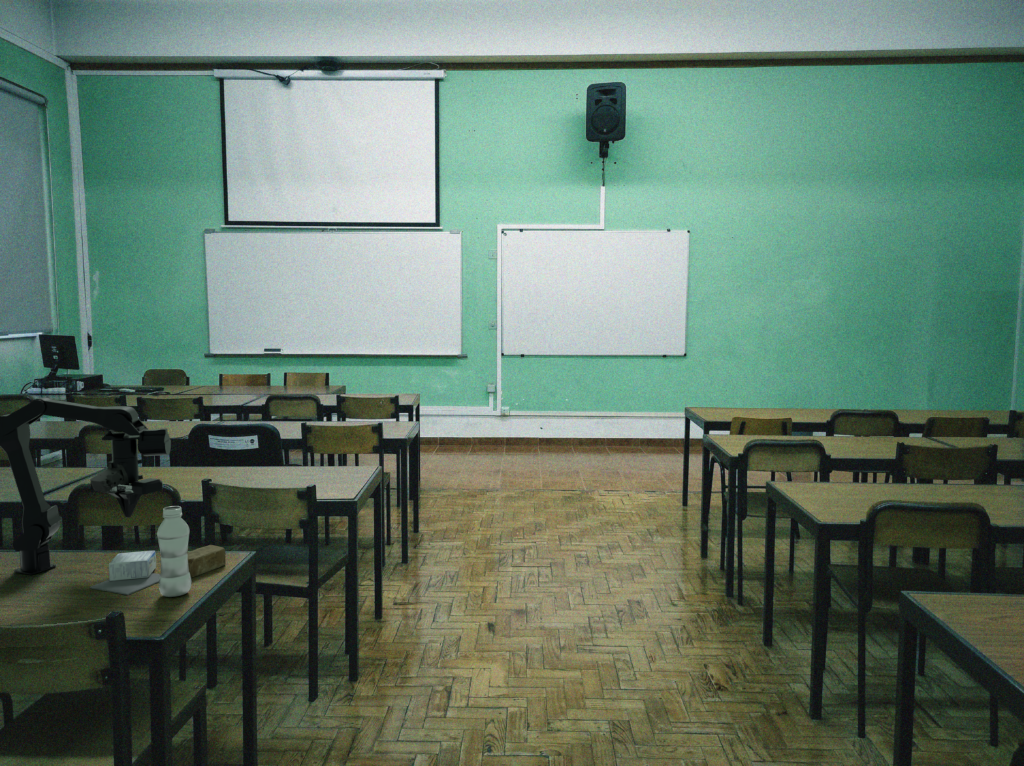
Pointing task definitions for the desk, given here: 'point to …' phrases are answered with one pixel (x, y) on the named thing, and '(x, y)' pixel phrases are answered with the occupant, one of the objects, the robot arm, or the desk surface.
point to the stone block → (205, 559)
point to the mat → (127, 584)
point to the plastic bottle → (173, 553)
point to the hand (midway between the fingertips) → (128, 517)
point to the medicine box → (132, 565)
